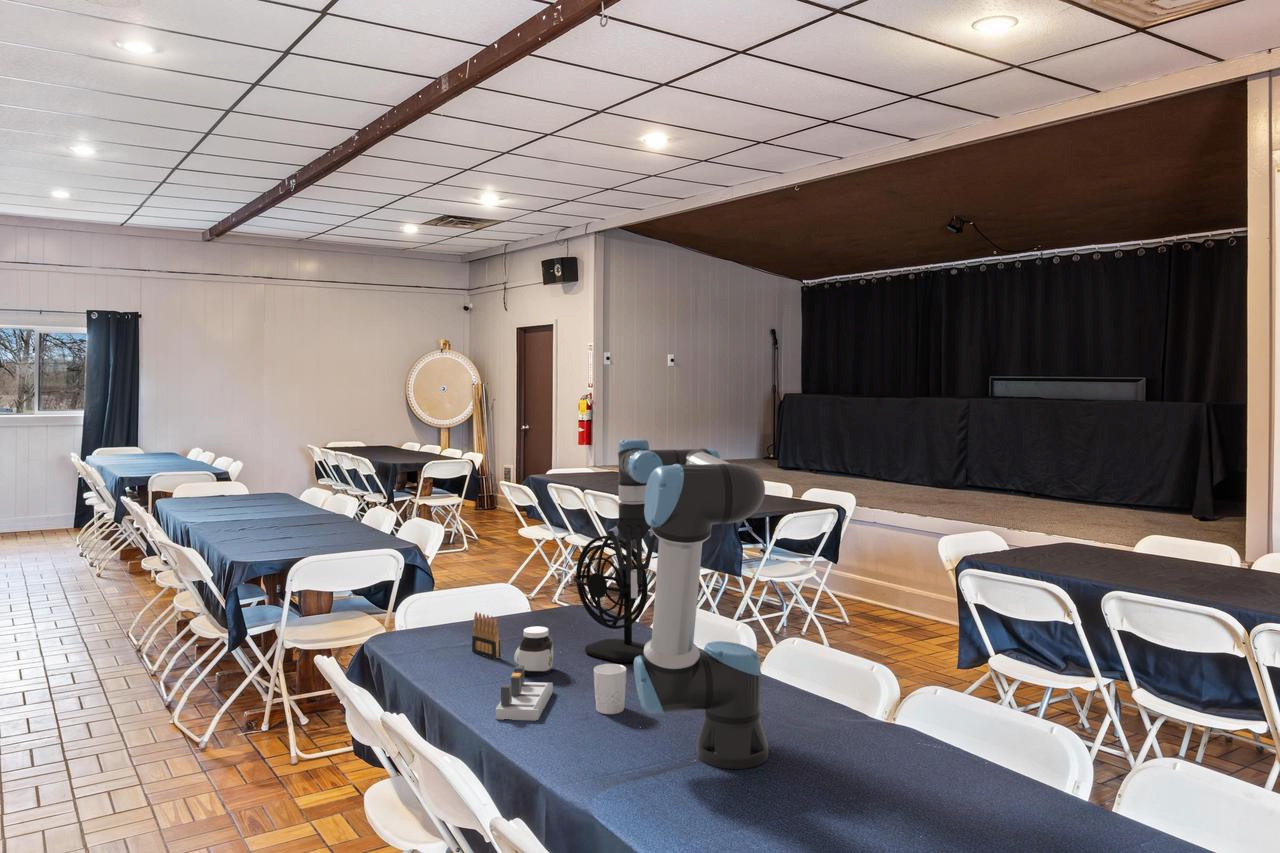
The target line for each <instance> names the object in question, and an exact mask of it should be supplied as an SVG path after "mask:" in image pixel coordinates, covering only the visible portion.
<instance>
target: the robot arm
mask: <svg viewBox="0 0 1280 853" xmlns="http://www.w3.org/2000/svg"><path fill="white" fill-rule="evenodd" d="M649 444H650V443H649V441H648V440H647V439H645V438H643V439H640V438H636V439H635V438H634V439H633V438H629V439H627V438H626V439H621V440H620V441H619V442H618V452H617V458H618V460H617V461H618V501H619V503H618V521H617V523H616V526H614V527H613V528H611V529H609V530H608V531H607V534H608V535H609V536H610V537H611V539H610V540H612V541H611V542H613V545H612V546H614V549H615V551H614V552H615V553H614V554H616V555H615V557H616V560H617V564H618V568H620V569H624V570H626V582H627V584H631V598H637V596H638V584H641V583H642V571H643V570H644V569H645V570H648V569H649V567H650V565H651V560H652V555H653V551H654V547H655V544H656V543H655V542H656V540H657V538H658V547H657V548H658V550H657V564H656V575H655V576H656V577H655V591H654V604H653V616H652V617H653V619H652V630H651V631H652V632H651V639H650V640H648V641H647V642H645V646H644V653H643V656H640V655H639V656H638V657H635V659H634V662H633V674H634V682H635V685H636V686H635V687H636V693H637V696H638V700H639V703H640V706H641V708H642V710H643V711H644V712H645V713H648V714H663V715H665V714H668V713H680V712H692V711H701V710H702V711H703V710H704V719H703V723H702V725H701V728H700V732H699V734H698V737H697V740H696V756H697V757H698V759H699V760H700V761H702V762H703V763H705V764H708V765H710V766H714V767H717V768H721V769H729V770H730V769H731V770H732V769H734V770H737V769H738V770H739V769H742V770H743V769H750V768H753V767H758V766H760V765H762V764H764V763H765V762H766V761H767V760H768V758H769V742H768V741H767V737H766V734H765V730H764V728H763V724H762V722H761V675H762V672H761V660H760V655H759V653H758V652H757V650H754V649H753V648H751V647H749V646H746V645H744V644H740V643H737V642H733V641H732V642H731V641H719V640H718V641H716V640H715V641H711V642H708V643H706V644H705V645H704V648H703V649H704V650H703V651H702V652H701V651H700V649H699V647H698V646H697V645H696V644H695V643H694V641H695V630H696V619H697V618H696V617H697V607H698V606H697V605H698V598H699V597H698V596H699V587H700V585H699V584H700V574H701V563H702V552H703V551H702V550H703V549H702V548H703V543H704V542H706V541H708V539H709V538H711V536H712V529H713V528H712V526H713V525H721V524H722V525H724V524H733V523H738V522H741V521H743V520H746V519H748V518H749V517H751V516H752V515H754V514H755V513H756V512H757V510H758V509H759V508H760V507H761V506H762V504H763V502H764V499H765V496H766V495H765V494H766V486H765V481H764V479H763V477H762V475H761V474H760V473H759V472H758V470H756V469H755V468H754V467H752V466H749V465H747V464H744V463H741V462H739V463H738V462H735V463H734V462H733V463H730V462H728V461H725V460H723V459H721V456H720V454H719V451H717V450H716V449H715V448H714V449H713V448H703V447H702V448H694V449H693V448H691V449H688V448H686V449H650V445H649ZM619 532H620V534H621V535H622V536H623V538H624V539H625V541H626V550H625V555H626V562H625V561H624V560H623V556H622V553H623V551H622V552H621V549H622V548H620V544H621V543H620V544H619V540H618V538H619ZM648 532H649V537H650V540H649V544H648V548H647V553H646V556H645V560H644V561H645V562H644V563H643V539H644V538H645V536H646V535H647V533H648ZM633 540H636V542H635V543H636V544H635V545H636V553H637V564H636V565H637V570H632V565H633V564H632V560H633V559H632V558H633V557H632V548H633V547H632V546H633V542H632V541H633ZM642 563H643V564H642ZM638 597H639V596H638ZM637 599H638V598H637Z"/></svg>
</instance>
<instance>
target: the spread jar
mask: <svg viewBox="0 0 1280 853" xmlns="http://www.w3.org/2000/svg"><path fill="white" fill-rule="evenodd" d="M549 631H550V630H549V628H548V627H547V626H546V627H545V626H529V627H526V628H524V629H523V638H522V639H521V641H520V644H519V646H518V647H517V649H516V650H515V653H514V656H513V659H514V662H515V663H516V664H517V665H519V666H524V675H526V674H527V676H530V675H533V676H534V677H537V676H538V675H540V676H543V675H544V676H545V675H547V674H549V672H550V671H551V670H552V667H553V663H554V642H553V639H552V638H551V636H550V635H549ZM538 677H539V676H538Z"/></svg>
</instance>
